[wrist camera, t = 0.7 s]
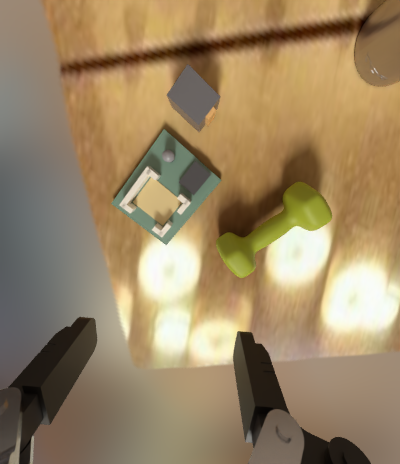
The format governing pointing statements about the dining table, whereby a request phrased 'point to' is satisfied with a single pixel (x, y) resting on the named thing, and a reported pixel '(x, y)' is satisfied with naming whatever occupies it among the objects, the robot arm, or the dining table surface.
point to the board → (165, 188)
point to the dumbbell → (275, 227)
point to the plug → (193, 99)
